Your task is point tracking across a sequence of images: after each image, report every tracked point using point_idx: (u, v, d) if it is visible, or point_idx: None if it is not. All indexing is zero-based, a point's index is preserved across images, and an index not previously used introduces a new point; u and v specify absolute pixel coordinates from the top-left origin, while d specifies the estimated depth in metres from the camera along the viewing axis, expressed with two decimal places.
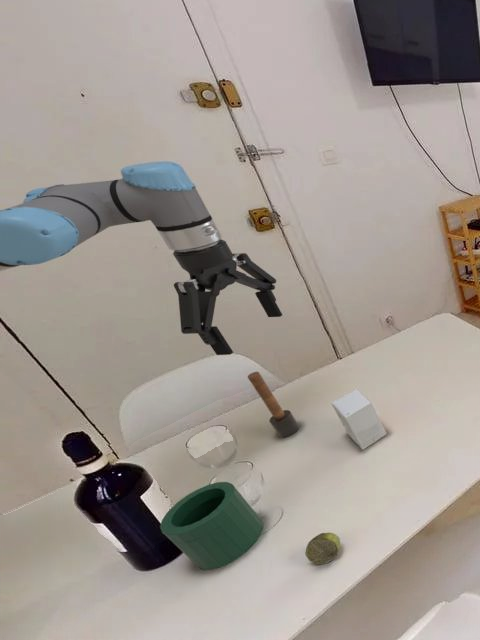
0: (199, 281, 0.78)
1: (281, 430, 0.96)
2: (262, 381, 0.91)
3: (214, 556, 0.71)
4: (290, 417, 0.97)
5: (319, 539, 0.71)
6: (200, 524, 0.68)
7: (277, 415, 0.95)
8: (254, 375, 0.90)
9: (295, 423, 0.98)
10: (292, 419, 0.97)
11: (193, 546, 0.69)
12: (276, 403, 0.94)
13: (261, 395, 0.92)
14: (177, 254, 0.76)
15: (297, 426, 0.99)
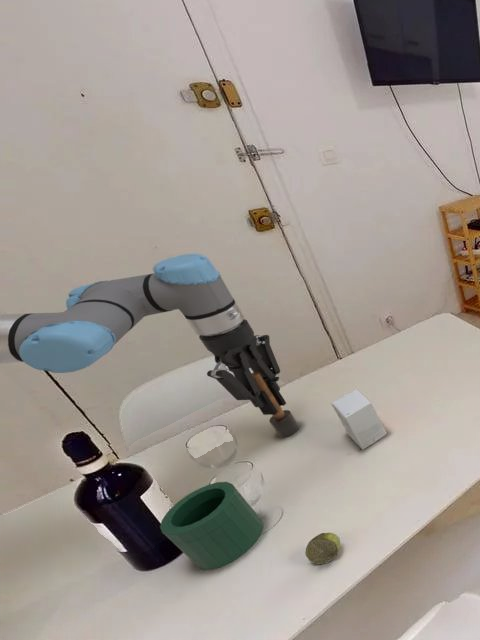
0: (226, 363, 0.83)
1: (281, 430, 0.96)
2: (262, 381, 0.91)
3: (214, 556, 0.71)
4: (290, 417, 0.97)
5: (319, 539, 0.71)
6: (200, 524, 0.68)
7: (277, 415, 0.95)
8: (254, 375, 0.90)
9: (295, 423, 0.98)
10: (292, 419, 0.97)
11: (193, 546, 0.69)
12: (276, 403, 0.94)
13: None
14: (203, 338, 0.81)
15: (297, 426, 0.99)
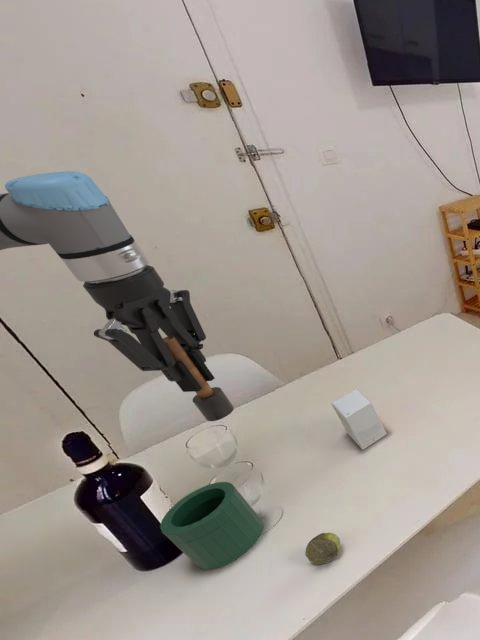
0: (122, 320, 0.64)
1: (208, 411, 0.76)
2: (179, 348, 0.71)
3: (214, 556, 0.71)
4: (219, 396, 0.77)
5: (319, 539, 0.71)
6: (200, 524, 0.68)
7: (202, 393, 0.75)
8: (168, 339, 0.70)
9: (228, 403, 0.79)
10: (223, 398, 0.78)
11: (193, 546, 0.69)
12: (200, 377, 0.75)
13: None
14: (87, 286, 0.61)
15: (230, 407, 0.79)
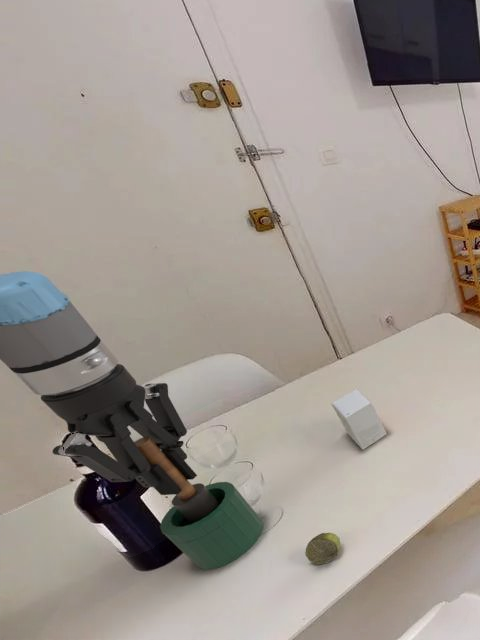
0: (86, 433, 0.56)
1: (189, 513, 0.69)
2: (155, 450, 0.64)
3: (214, 556, 0.71)
4: (202, 495, 0.69)
5: (319, 539, 0.71)
6: (200, 524, 0.68)
7: (182, 494, 0.68)
8: (142, 442, 0.63)
9: (212, 501, 0.71)
10: (206, 497, 0.70)
11: (193, 546, 0.69)
12: (180, 478, 0.67)
13: None
14: (45, 398, 0.54)
15: (215, 505, 0.72)
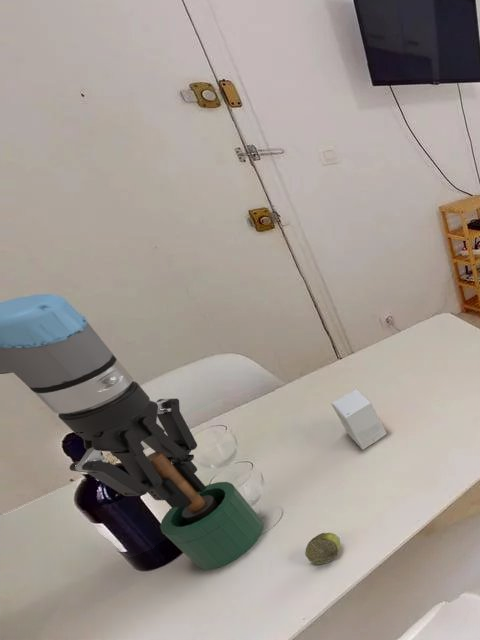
0: (101, 449, 0.58)
1: None
2: (167, 464, 0.65)
3: (214, 556, 0.71)
4: (211, 507, 0.71)
5: (319, 539, 0.71)
6: (200, 524, 0.68)
7: (192, 506, 0.69)
8: (154, 457, 0.64)
9: None
10: None
11: (193, 546, 0.69)
12: (190, 490, 0.69)
13: None
14: (63, 416, 0.55)
15: None
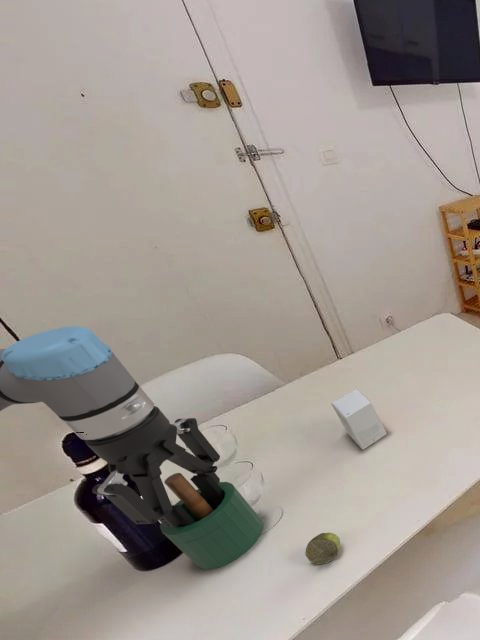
0: (124, 472, 0.60)
1: None
2: (186, 485, 0.68)
3: (214, 556, 0.71)
4: None
5: (319, 539, 0.71)
6: (200, 524, 0.68)
7: None
8: (174, 479, 0.67)
9: None
10: None
11: (193, 546, 0.69)
12: (208, 509, 0.71)
13: (185, 503, 0.69)
14: (89, 442, 0.58)
15: None
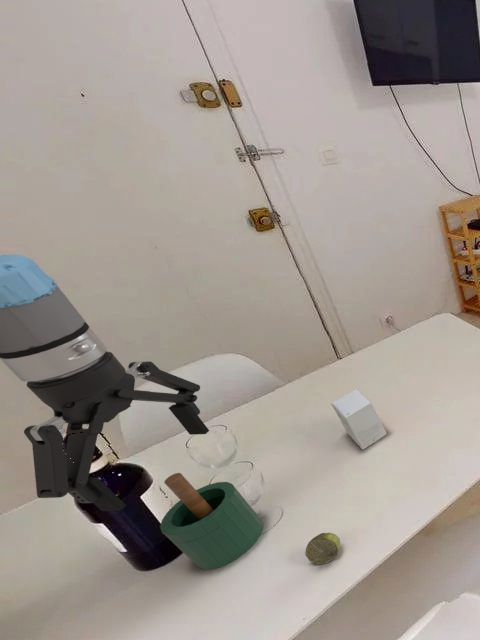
0: (67, 419, 0.54)
1: None
2: (186, 485, 0.68)
3: (214, 556, 0.71)
4: None
5: (319, 539, 0.71)
6: (200, 524, 0.68)
7: None
8: (174, 479, 0.67)
9: None
10: None
11: (193, 546, 0.69)
12: (208, 509, 0.71)
13: (185, 503, 0.69)
14: (31, 385, 0.52)
15: None
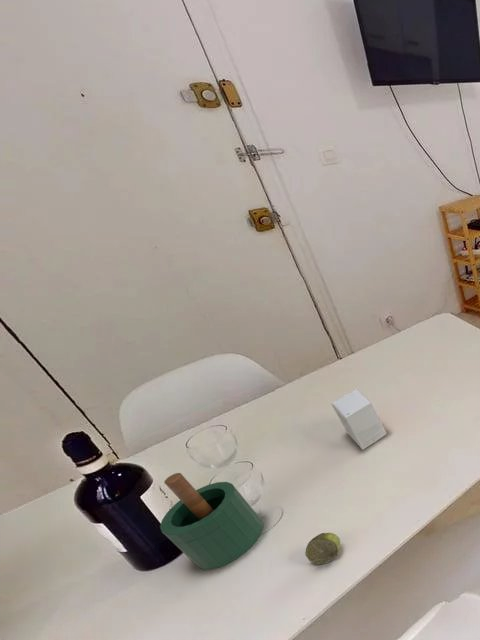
0: None
1: None
2: (186, 485, 0.68)
3: (214, 556, 0.71)
4: None
5: (319, 539, 0.71)
6: (200, 524, 0.68)
7: None
8: (174, 479, 0.67)
9: None
10: None
11: (193, 546, 0.69)
12: (208, 509, 0.71)
13: (185, 503, 0.69)
14: None
15: None
